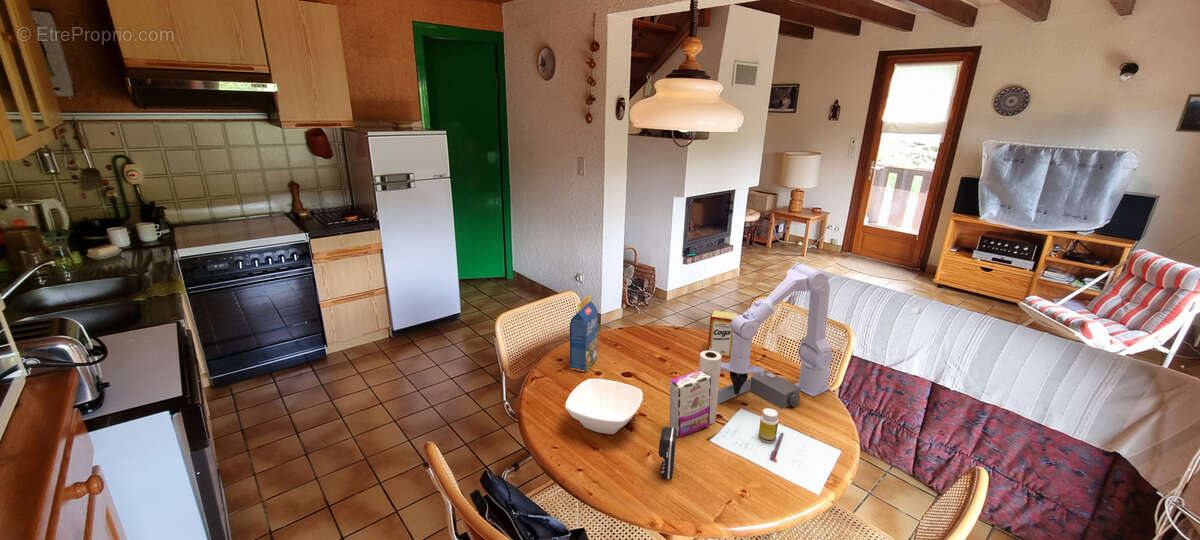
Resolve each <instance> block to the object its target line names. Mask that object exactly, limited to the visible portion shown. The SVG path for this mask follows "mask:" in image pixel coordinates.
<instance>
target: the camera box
mask: <svg viewBox="0 0 1200 540" xmlns="http://www.w3.org/2000/svg"><path fill="white" fill-rule="evenodd" d="M795 384H796V383H792V382H791V381H788V380H786V379H785V378H783V377H781V376H779V375H778V374H775V373H773V372H771V371H769V370H764V374H763V376H760V375H756V374H753V375H751V376H750V385H749V391H750V392H752V393H753V392H754V394H755V393H756V394H755V395H757V396H759V397H760V396H761V397H760V398H762V399H764V400H766V401H768V402H769V401H770V402H769V403H771V404H772V405H775V406H776V405H777V406H776V407H778V408H780V409H781V410H784V409H786V408H788V407H791V406H792V407H797V406H798V405H799V403H800V401H801V395H800V394H801V387H799V386H797V385H795ZM783 408H784V409H783Z"/></svg>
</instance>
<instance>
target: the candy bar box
mask: <svg viewBox="0 0 1200 540" xmlns="http://www.w3.org/2000/svg"><path fill="white" fill-rule="evenodd" d="M710 387H711V376H709V375H707V374H706V373H705V372H703V371H701V370H699V369H698V370H695V371H693V372H690V373H687V374H684V375H681V376H678V377H676V378H673V379H669V427H670V428H672V427H673V428H676V430H677V431H676V438H678V439H680V438H683V437H685V436H688V435H690V434H693V433H695V432H698V431H700V430H702V429H704V428H705V429H706V428H707V427H709V426H710V424H709V420H710Z"/></svg>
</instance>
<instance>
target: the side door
mask: <svg viewBox="0 0 1200 540" xmlns="http://www.w3.org/2000/svg"><path fill="white" fill-rule="evenodd" d="M750 381H751V377H748V378H747V380H746V381H745V383H744V384H743V386H742V387H741V389H740V392H739V395H736V394H734V387H733V383H732V384H729V385H727V386H724V387H722V388H719V389H718V399H717V404H721V403H723V402H726V401H728V400H731V399H733V398H735V397H737V396H741V394H745V393H747V392H749V391H750Z"/></svg>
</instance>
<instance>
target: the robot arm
mask: <svg viewBox="0 0 1200 540" xmlns="http://www.w3.org/2000/svg"><path fill="white" fill-rule="evenodd" d="M830 288H831V286H830V283H829V275H828V274H827V273H825V272H824V270H823V271H822V270H818V269H816V268H814V267H812V266H809V265H807V264H805V263H803V262H797V263H795V264H793V266H791V268H790V269H788V270H787V272H786V277H785V278H784V279H783V280H782V281H781V282H780V283H779V284H778V285H777V286H776V287H775V288H774V290H773V291H771V292H770V293H769V295H768V296H767V297H766V298H759V299H758V300H755V301H754V303H753V304H752V305H751V306H750V307H748V309H747V310H745V311H744V312H743V313H742V314H739V315H738V316H735V317H734V318H733V319H732V322H731V323H730V328H731V330H732V335H733V338H732V348H731V358H730V360H729V362H721V369H720V372H721V371H723V372H729V378H730V380H731V382H732V384H733V387H734V394H736V395H738V396H740V395H739V392H740V389H741V387H742V386H743V384H744V383H745V381H746V380H747V378H748V376H749V375H760V376H763V374H764V371H765V369H764V367H760V366H756V365H752V364H750V362H751V361H750V359H751V352H752V343H753V337H756V335H757V333H758V332H759V329H760V328H761V325H762V324H763V323H764V322H765V321H766V320H767V319H768V318H769V317H770V316H772V315H773V314H774V310H775V307H776V306H777V305H779V304H780V303H781V302H783V301H784V300H785V299H786V298H788V297H789V296H790V295H791V294H793V293H794V292H810V293H809V305H808V317H807V327H806V330H807V331H806V336H804V337H802V338H801V339H800V344H799V345H798V349H797V353H798V356H799V357H800V361H801V365H800V370H799V371H800V372H799V379H798V382H796V383H794V384H795V385H797V386H799V387H801V390H800V392H803V393H804V394H807V395H809V396H811V397H816V396H818V395H820V394H822V393H824V392H826V391H829V390H830V389H831V387H830V386H829V380H830V374H831V368H830V366H831V364H832V362H833V359H834V357H833V354H832V347H831V345H830V343H829V342H828V340H827V339H826V333H827V322H828V311H829V301H830V290H831V289H830ZM748 374H749V375H748Z"/></svg>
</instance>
